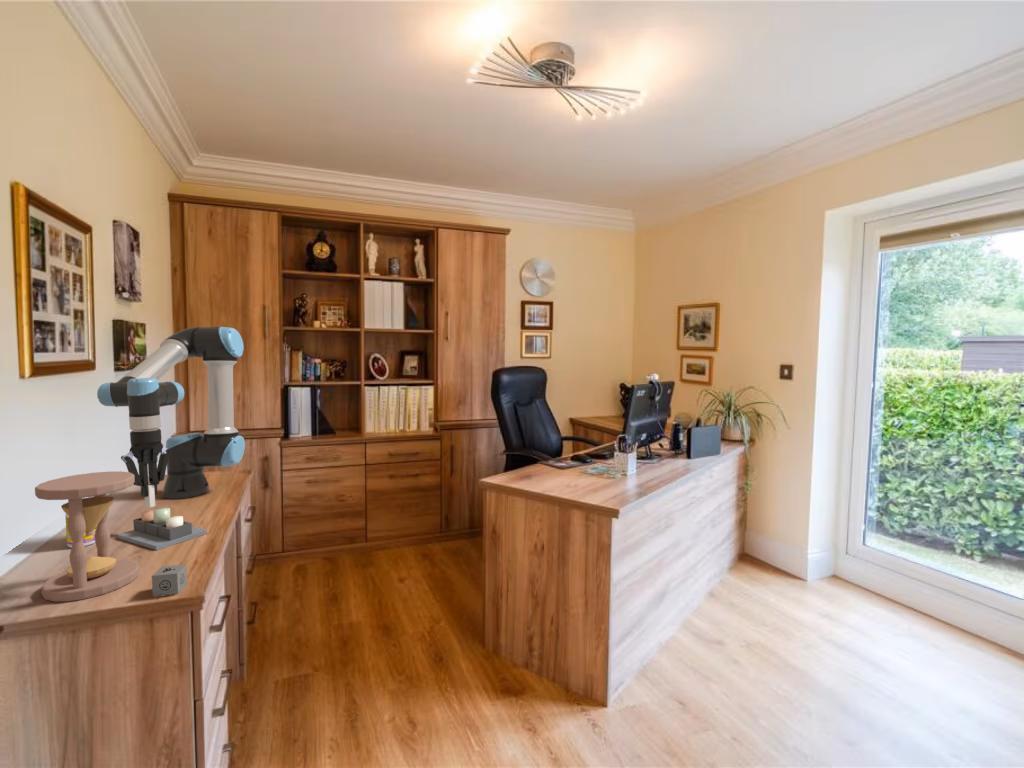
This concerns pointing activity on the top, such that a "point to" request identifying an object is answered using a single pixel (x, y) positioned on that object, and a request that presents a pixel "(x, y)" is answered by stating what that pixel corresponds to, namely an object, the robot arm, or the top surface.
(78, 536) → the hourglass
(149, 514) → the pink rounded piece
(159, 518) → the pale green rounded piece
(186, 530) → the panel
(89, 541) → the supplement bottle
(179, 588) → the dice cube
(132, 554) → the top surface
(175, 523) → the cream button
